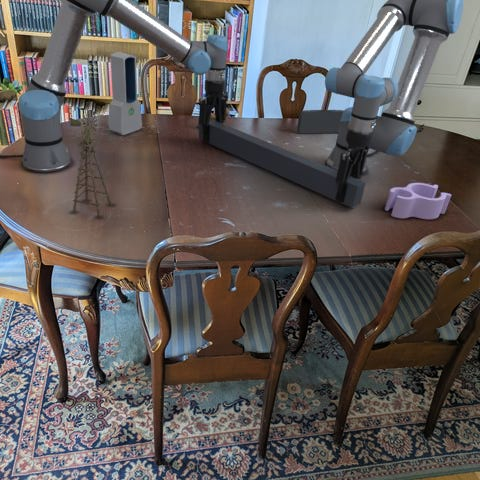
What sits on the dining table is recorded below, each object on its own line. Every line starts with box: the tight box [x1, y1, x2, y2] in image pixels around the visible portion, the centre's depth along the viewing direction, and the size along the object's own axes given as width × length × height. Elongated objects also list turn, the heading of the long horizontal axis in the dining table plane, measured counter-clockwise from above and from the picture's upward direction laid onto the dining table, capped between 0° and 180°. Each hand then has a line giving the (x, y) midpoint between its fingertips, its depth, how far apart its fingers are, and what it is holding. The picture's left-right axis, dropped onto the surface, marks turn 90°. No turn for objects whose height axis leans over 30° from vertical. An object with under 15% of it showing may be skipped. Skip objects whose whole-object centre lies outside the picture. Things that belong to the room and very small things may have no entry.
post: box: [198, 119, 366, 209], centre depth 168 cm, size 72×5×8 cm, turn 47°
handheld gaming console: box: [296, 109, 345, 134], centre depth 210 cm, size 23×3×10 cm, turn 108°
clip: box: [384, 182, 452, 220], centre depth 153 cm, size 20×12×7 cm, turn 109°
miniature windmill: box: [69, 107, 112, 218], centre depth 129 cm, size 9×8×30 cm
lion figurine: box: [196, 107, 231, 129], centre depth 201 cm, size 15×5×9 cm, turn 110°
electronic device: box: [107, 51, 143, 136], centre depth 184 cm, size 12×8×30 cm, turn 148°
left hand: (211, 139), depth 187 cm, fingers closed on post, 5 cm apart
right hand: (344, 198), depth 153 cm, fingers closed on post, 5 cm apart
